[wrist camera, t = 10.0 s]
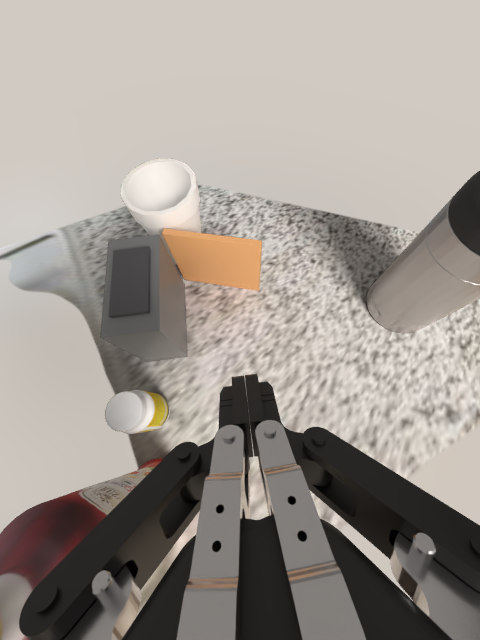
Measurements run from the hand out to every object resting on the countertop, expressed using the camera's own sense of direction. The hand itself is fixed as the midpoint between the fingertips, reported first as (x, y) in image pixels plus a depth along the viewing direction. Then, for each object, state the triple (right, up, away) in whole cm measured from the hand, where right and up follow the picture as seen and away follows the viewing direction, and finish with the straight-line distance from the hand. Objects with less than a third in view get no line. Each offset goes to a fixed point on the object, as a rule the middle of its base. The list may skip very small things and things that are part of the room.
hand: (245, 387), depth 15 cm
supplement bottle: (-12, -9, +20) cm, 25 cm away
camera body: (-12, +4, +24) cm, 27 cm away
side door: (-3, +10, +25) cm, 27 cm away
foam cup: (-10, +16, +29) cm, 34 cm away
